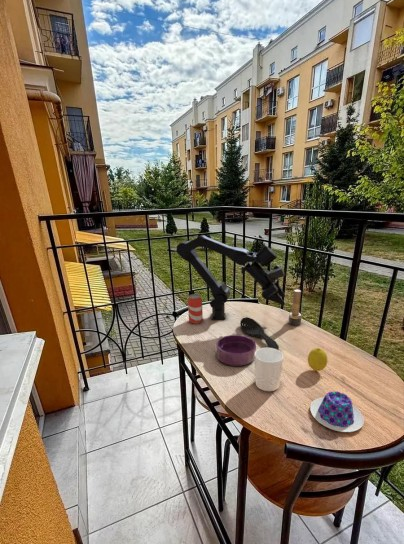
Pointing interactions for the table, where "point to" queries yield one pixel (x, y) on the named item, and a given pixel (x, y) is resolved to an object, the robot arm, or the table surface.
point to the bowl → (235, 350)
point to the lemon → (317, 359)
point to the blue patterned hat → (337, 412)
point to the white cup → (268, 368)
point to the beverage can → (195, 309)
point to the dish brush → (295, 309)
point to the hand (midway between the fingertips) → (284, 300)
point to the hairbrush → (256, 331)
